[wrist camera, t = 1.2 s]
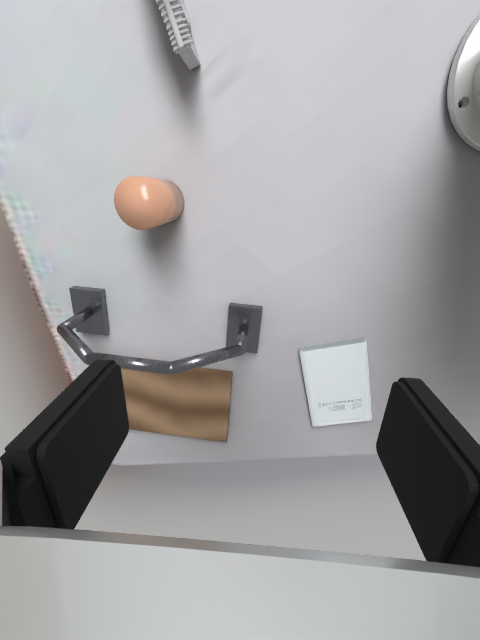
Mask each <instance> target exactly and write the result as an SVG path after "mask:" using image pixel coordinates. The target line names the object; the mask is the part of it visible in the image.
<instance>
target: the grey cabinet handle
mask: <svg viewBox="0 0 480 640" xmlns="http://www.w3.org/2000/svg"><path fill="white" fill-rule="evenodd" d="M69 289H70V295H71V301H72V307H73V313H74V316H72V317H71V318H69V319H68V320H66V321H64V322H63V323H61V324H60V325H58V327H57V332H58V333H59V334H60V335H61V336H62V338H63V339H64V340H65V341H66V342H67V343H68V345H69V346H70V347H71V348H72V349H73V350H74V352H75V353H76V354H77V355H78V356H79V357H80V359H81V360H82V361H83V362H84V363H85V364H87V365H91V364H92V363H93V362H94V361H95V360H96V359H103V360H114V361H115V362H116V364H118V365H120V367H121V369H127V370H135V371H144V372H152V373H160V374H168V375H173V374H177V373H180V372H184V371H187V370H191V369H194V368H198V367H201V366H205V365H208V364H212V363H215V362H219V361H222V360H226V359H229V358H233V357H236V356H240V355H242V354H244V352H245V351H247V352H256V353H257V349H258V340H259V332H260V323H261V315H262V306H255V305H246V304H236V303H230V305H229V314H228V329H227V343H226V348H222V349H218V350H215V351H211V352H207V353H203V354H199V355H196V356H192V357H188V358H184V359H180V360H176V361H173V362H168V361H160V360H152V359H143V358H135V357H127V356H118V355H110V354H102V353H94V352H92V351H91V349H90V348H89V347H88V346H87V345H86V344H85V343H84V342H83V341H82V340H81V339H80V338H79V337H78V336H77V335H76V334H75V333H74V332H73V331H72V329H74V328H75V327H76V331H77V332H85V333H93V334H102V335H106V334H107V333H109V332H110V331H109V322H108V313H107V304H106V296H105V289H98V288H89V287H79V286H73V287H71V288H69Z"/></svg>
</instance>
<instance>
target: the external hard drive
mask: <svg viewBox="0 0 480 640" xmlns="http://www.w3.org/2000/svg"><path fill="white" fill-rule="evenodd" d="M299 354H300V360H301V365H302V371H303V377H304V382H305V388H306V394H307V399H308V405H309V411H310V416H311V422H312V426H315V427H317V426H326V425H335V424H344V423H353V422H363V421H370V420H372V414H371V398H370V383H369V369H368V356H367V342H366V340H365V338H362V339H356V340H350V341H343V342H337V343H330V344H323V345H317V346H310V347H304V348H299Z"/></svg>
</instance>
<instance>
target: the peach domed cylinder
mask: <svg viewBox="0 0 480 640" xmlns="http://www.w3.org/2000/svg"><path fill="white" fill-rule="evenodd" d="M114 203H115V208H116V211H117V213H118V215H119V216H120V218H121V219H122V220H123V221H124V222H125V223H126V224H127V225H128V226H130V227H132V228H135V229H139V230H146V229H149V228H153V227H156V226H159V225H162V224H166V223H169V222H172V221H175V220H176V219H177V218H179V217H180V215H181V214H182V212H183V209H184V197H183V194H182V192H181V190H180V189H179V187H178V186H177V185H176V184H175V183H173V182H171V181H169V180H165V179H157V178H148V177H140V176H131V177H128V178H126V179H124V180H122V181H121V182H120V183H119V185H118V186H117V188H116V191H115V195H114Z"/></svg>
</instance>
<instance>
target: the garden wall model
mask: <svg viewBox="0 0 480 640" xmlns="http://www.w3.org/2000/svg"><path fill="white" fill-rule="evenodd" d="M156 3H157V4H158V7H159V10H160V12H161V16H162V17H163V19H164V23H165V24H166V27H167V28H166V29H167V31H168V32H169V33H168V35H169V36H170V41H172V44H171V45H172V46H173V48H174V49H173V51H174V52H175V53H176V54H179V55H180V57H181V58H182V60H183V61H184V63H185V64H186V66H187V67H188V69H189V70H191V69H193V68H195V67H197V66H199V65H200V61H199V58H198V55H197V52H196V49H195V46H194V43H193V40H192V37H191V34H190V30H189V28H190V27H191V24H190V20H189V16H188V13H187V10H186V7H185V4H184V1H183V0H156Z"/></svg>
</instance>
